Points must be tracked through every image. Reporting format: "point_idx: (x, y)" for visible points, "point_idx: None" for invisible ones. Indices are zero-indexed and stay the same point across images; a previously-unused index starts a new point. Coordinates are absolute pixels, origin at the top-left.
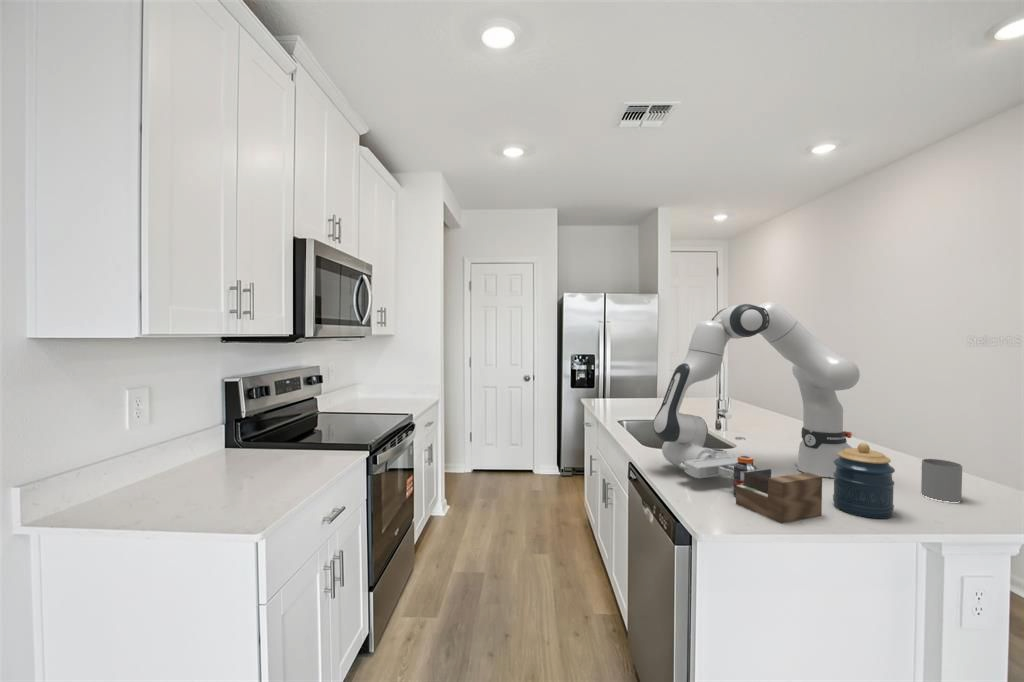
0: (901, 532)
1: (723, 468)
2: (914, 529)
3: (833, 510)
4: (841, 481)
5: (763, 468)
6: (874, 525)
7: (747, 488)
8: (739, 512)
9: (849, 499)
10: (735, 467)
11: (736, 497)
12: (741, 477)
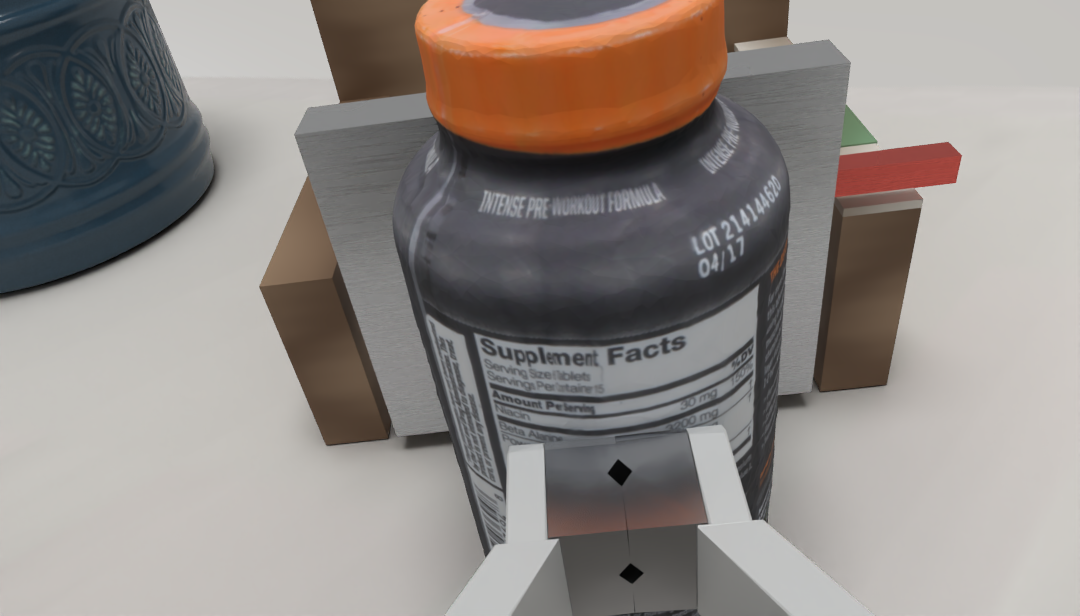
0: (279, 78)
1: (832, 614)
2: (193, 90)
3: (227, 218)
4: (108, 12)
5: (384, 120)
6: (289, 111)
7: (847, 129)
8: (959, 254)
9: (180, 98)
10: (788, 188)
11: (894, 324)
12: (835, 133)
